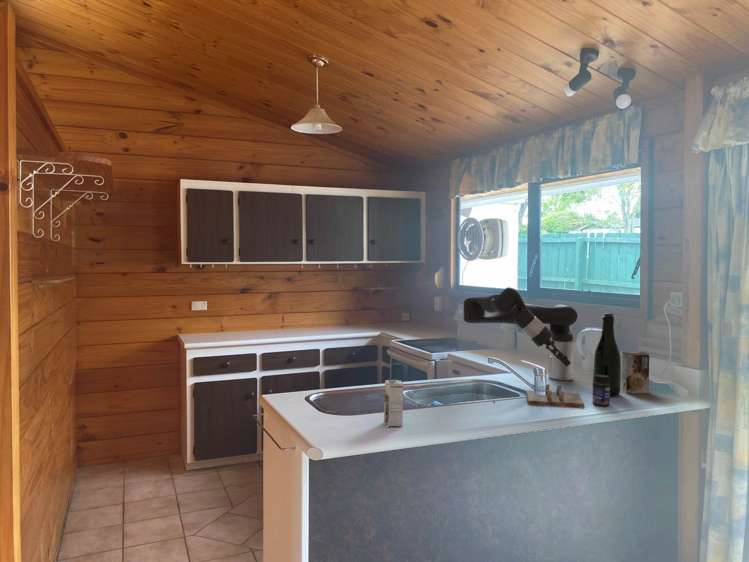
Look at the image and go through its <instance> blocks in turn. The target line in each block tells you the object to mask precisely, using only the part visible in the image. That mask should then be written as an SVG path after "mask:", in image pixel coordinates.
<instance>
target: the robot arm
mask: <svg viewBox="0 0 749 562" xmlns="http://www.w3.org/2000/svg"><path fill="white" fill-rule="evenodd" d="M486 312H487V313H490V315H486ZM578 316H579V315H578V312H577V311H576V310H575V308H573V307H572V306H570V305H565V304H562V303H561V304H560V303H559V304H555V305H554V306H553V307H550V306H543V305H537V304H530V303H525V302H524V299H522V296H521V295H520V293H519V292H518V290H516V289H515V288H513V287H511V286H508V287H506V288H504V289H503V290H502V291H501V292H500V293H498V294H497V293H496V294H492V295H488V296H475V297H474V296H473V297H468V298H465V300H463V321H464V322H465V323H469V324H509V325H511V324H512V325H517V326H518V327H519V328H520V329H521V330H522V331H523V332H524V334H525V335H526V336H527V337H528V338H529V339H530V340H531V341H532V342H533V343H534V345H536V346H537V347H538V348H539V347H541V346H543V345H545V349H546V350H547V351H548V352H549V353H551V355H550V356H549V357H548V358H549V359H548V378H551V379H552V380H553V379H554V380H559V381H570V380H572V379H573V361H574V359H573V355H574V354H573V353H574V335H573V333H572V332H571V329H570V326H572V325H574V324H575V323H576V321H577V320H578ZM546 324H547V325H548V324H549V328H548V327H547V325H546Z"/></svg>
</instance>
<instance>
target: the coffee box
mask: <svg viewBox="0 0 749 562" xmlns="http://www.w3.org/2000/svg"><path fill="white" fill-rule="evenodd" d="M621 354H622V355H621V356H622V357H621V387H620V390H622V391H623V392H624V393H626V394H649V393H650V387H649V386H650V381H649V380H650V354H648V353H647V352H646V351H622V353H621Z"/></svg>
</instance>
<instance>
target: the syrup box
mask: <svg viewBox="0 0 749 562" xmlns="http://www.w3.org/2000/svg"><path fill="white" fill-rule="evenodd" d="M383 406H384V408H383V409H384V410H383V412H384V413H383V422H384V423H385V424H384V423H383V424H384V426H402V427H403V417H404V416H403V414H404V413H403V412H404V411H403V410H404V383H403V381H402V380H401V379H400V380H398V379H387V380H384V405H383Z"/></svg>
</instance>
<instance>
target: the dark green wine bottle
mask: <svg viewBox="0 0 749 562" xmlns="http://www.w3.org/2000/svg"><path fill="white" fill-rule="evenodd" d="M601 329H602V330H601V333H600V334H601V335H600V339H599V341H598V343H597V345H596V348H595V351H594V353H593V354H594V355H593V356H594V357H593V369H592V384H593V383H594V382H595V381H596V379H595V375H606V376H608V377H609V380H608V382H609V383H610V398H612V397H615V398H616V397H618V396H620V394H621V381H622V358H621V353H620V349H619V345H618V344H617V340H616V337H615V317H614V313H612V312H605V313H603V316H602V328H601Z"/></svg>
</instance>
